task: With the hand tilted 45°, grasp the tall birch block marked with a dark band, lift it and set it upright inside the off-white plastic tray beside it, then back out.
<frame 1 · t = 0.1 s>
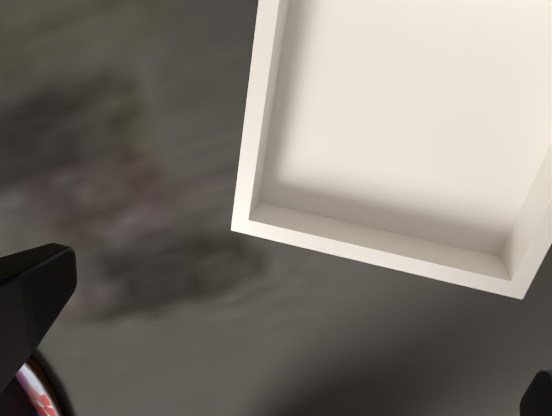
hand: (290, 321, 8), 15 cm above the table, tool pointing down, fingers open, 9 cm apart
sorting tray: (408, 106, 20), on the table
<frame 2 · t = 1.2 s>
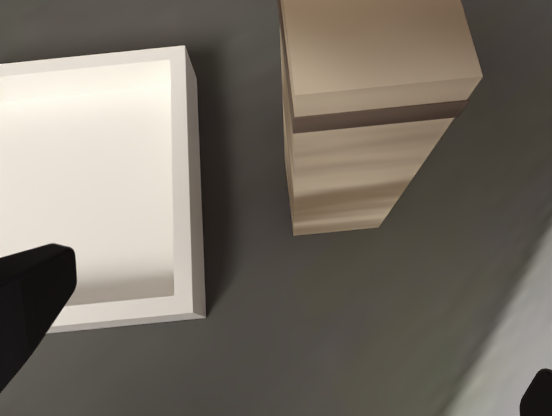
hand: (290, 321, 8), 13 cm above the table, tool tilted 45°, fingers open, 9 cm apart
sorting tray: (74, 199, 24), on the table
birch block: (330, 191, 23), on the table
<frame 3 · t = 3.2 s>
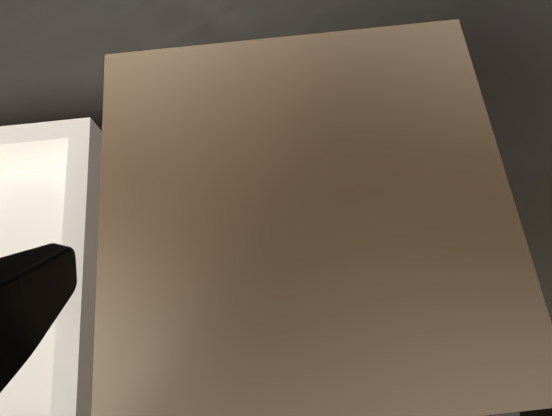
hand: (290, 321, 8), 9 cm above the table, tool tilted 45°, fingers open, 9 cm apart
birch block: (292, 315, 17), on the table
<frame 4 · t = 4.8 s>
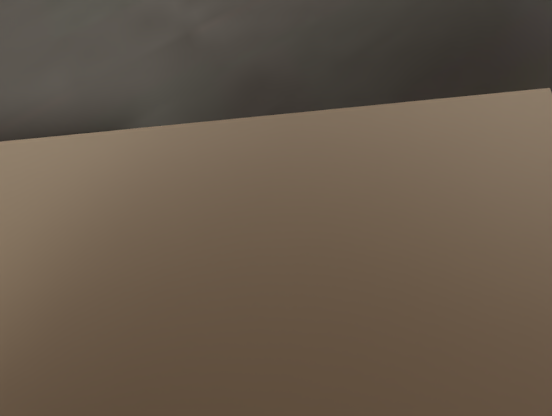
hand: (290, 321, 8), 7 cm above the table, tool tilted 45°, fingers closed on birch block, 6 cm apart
birch block: (280, 379, 14), on the table, touching gripper
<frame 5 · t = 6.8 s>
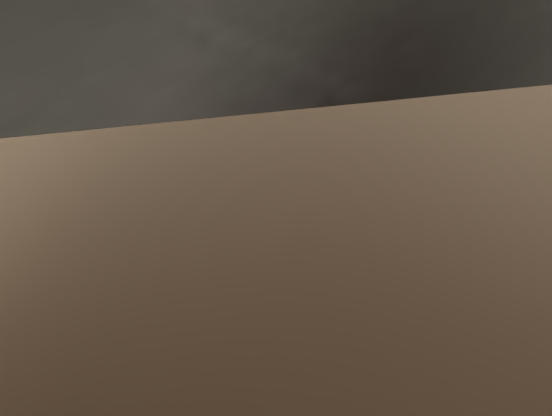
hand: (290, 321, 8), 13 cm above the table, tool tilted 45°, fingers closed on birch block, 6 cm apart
birch block: (281, 378, 14), point 6 cm above the table, touching gripper
when the fingers open (9 cm above the table, at t = 9.1 s): birch block drops 1 cm, resting on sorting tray.
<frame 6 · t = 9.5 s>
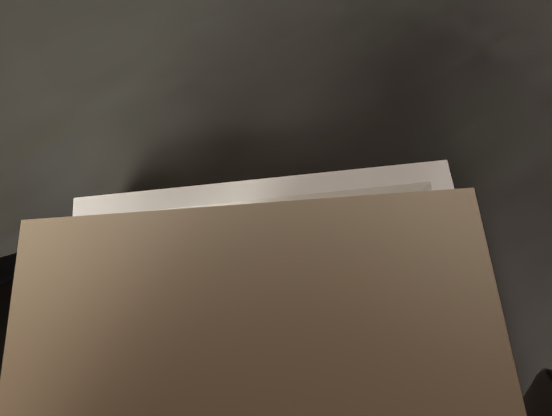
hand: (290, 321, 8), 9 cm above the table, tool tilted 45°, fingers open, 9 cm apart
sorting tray: (281, 375, 17), on the table
birch block: (282, 379, 16), point 1 cm above the table, touching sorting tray
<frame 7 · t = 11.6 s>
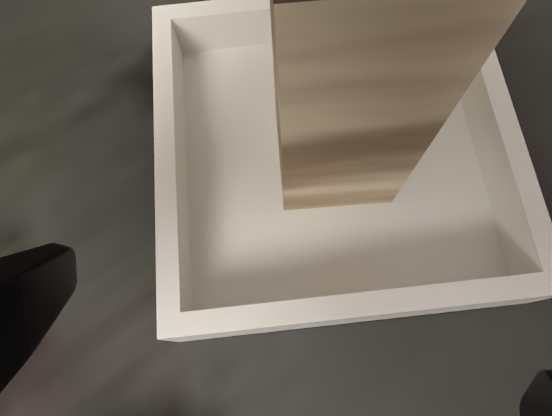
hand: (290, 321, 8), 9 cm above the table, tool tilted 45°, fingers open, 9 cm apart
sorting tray: (328, 163, 19), on the table
birch block: (331, 157, 19), point 1 cm above the table, touching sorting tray
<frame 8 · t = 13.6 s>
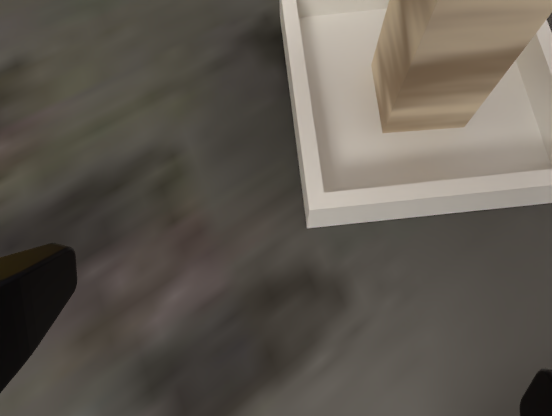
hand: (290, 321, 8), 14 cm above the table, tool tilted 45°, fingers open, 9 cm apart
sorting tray: (411, 101, 25), on the table
birch block: (416, 95, 24), point 1 cm above the table, touching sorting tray
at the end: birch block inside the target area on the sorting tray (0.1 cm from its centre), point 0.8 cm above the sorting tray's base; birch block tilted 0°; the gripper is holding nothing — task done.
